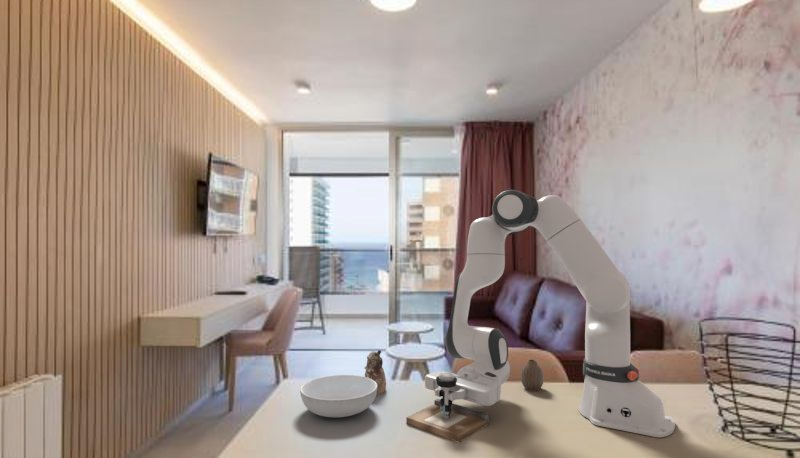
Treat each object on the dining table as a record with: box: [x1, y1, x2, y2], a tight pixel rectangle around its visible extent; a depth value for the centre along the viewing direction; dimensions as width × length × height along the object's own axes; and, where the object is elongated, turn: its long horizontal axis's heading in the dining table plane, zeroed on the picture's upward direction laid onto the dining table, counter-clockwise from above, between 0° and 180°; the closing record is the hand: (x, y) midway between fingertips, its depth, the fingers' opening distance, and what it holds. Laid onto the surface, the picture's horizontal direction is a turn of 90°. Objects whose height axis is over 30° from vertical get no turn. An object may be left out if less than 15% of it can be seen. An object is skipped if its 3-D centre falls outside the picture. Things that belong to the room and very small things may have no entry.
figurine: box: [364, 349, 387, 395], centre depth 138 cm, size 7×7×12 cm
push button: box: [436, 372, 457, 419], centre depth 113 cm, size 7×5×10 cm
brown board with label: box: [405, 398, 490, 443], centre depth 113 cm, size 16×14×2 cm
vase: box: [520, 359, 545, 392], centre depth 140 cm, size 7×7×9 cm
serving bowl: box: [299, 374, 377, 418], centre depth 121 cm, size 21×21×7 cm
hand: (443, 395), depth 112 cm, fingers closed on push button, 2 cm apart
